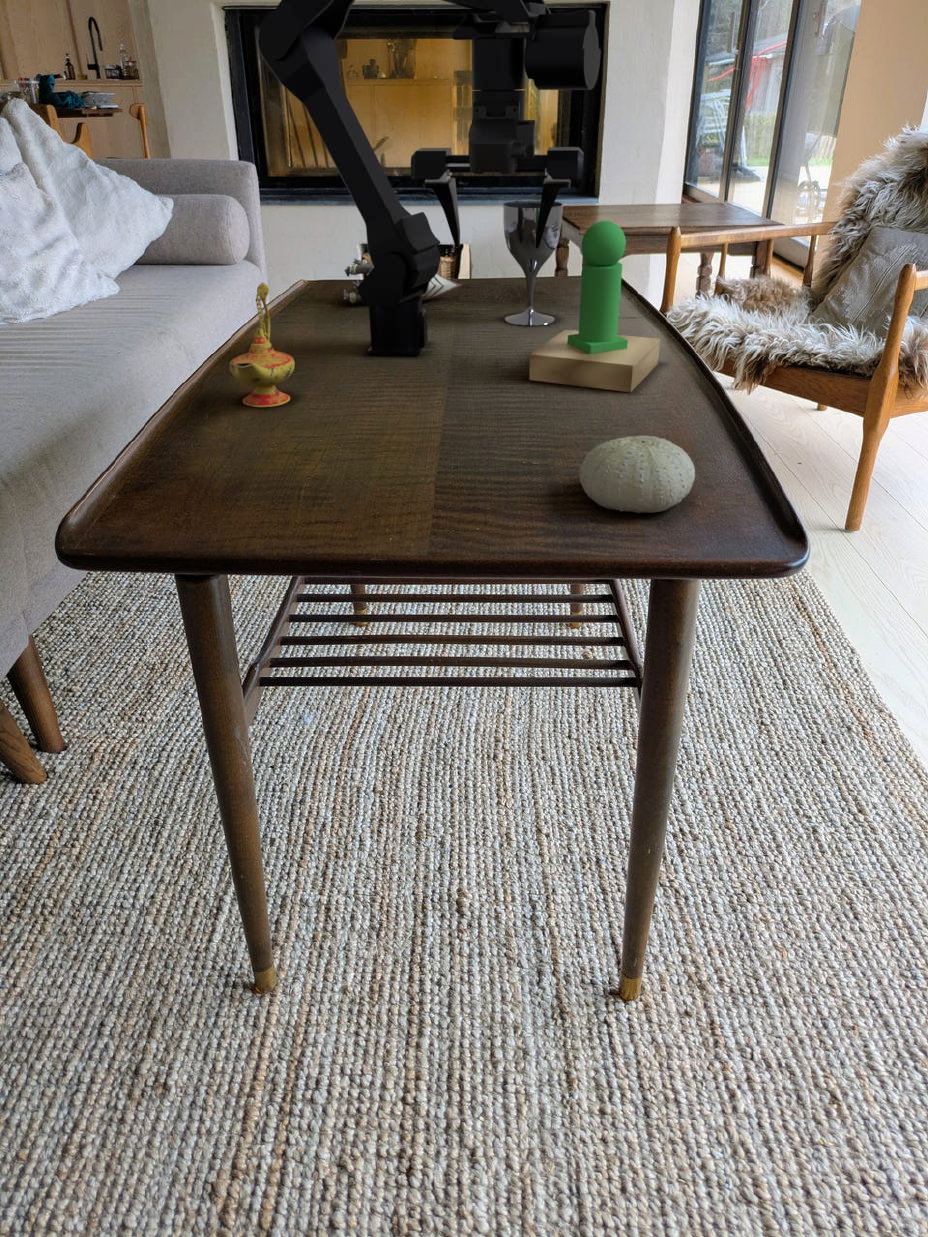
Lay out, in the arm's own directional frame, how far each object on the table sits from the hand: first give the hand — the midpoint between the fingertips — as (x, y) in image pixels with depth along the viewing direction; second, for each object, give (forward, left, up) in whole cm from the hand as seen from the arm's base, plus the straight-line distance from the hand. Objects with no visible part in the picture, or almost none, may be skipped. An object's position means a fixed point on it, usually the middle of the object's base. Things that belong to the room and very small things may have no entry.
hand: (497, 247), depth 104 cm
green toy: (+12, -4, -10) cm, 16 cm away
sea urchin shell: (+15, -40, -13) cm, 45 cm away
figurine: (-17, +32, -13) cm, 39 cm away
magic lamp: (-24, -19, -13) cm, 33 cm away
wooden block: (+12, -4, -13) cm, 18 cm away
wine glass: (+3, +21, -13) cm, 25 cm away
